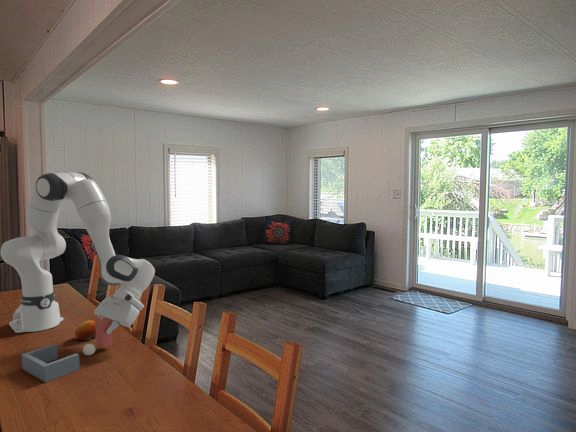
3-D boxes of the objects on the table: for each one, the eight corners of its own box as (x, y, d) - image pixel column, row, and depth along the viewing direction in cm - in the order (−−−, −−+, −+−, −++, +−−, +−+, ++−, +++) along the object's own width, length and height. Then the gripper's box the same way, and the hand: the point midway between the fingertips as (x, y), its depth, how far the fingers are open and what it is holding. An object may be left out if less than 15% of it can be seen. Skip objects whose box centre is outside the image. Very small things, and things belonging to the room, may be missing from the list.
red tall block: (96, 344, 148) (95, 320, 147) (106, 341, 152) (105, 317, 151) (102, 347, 146) (101, 322, 145) (113, 343, 149) (111, 319, 148)
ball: (80, 355, 144) (80, 344, 143) (91, 351, 147) (91, 340, 146) (87, 358, 141) (86, 347, 141) (98, 354, 144) (97, 343, 144)
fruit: (93, 339, 154) (82, 321, 155) (78, 348, 156) (68, 330, 156) (107, 331, 162) (96, 314, 163) (92, 340, 164) (82, 323, 164)
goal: (22, 369, 134) (21, 354, 133) (55, 357, 142) (54, 343, 142) (45, 382, 125) (44, 366, 124) (79, 369, 133) (78, 354, 133)
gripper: (104, 290, 159) (80, 322, 152) (135, 298, 147) (112, 333, 140) (115, 298, 163) (93, 330, 156) (147, 307, 151) (124, 341, 144)
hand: (102, 331), depth 148 cm, fingers closed on red tall block, 4 cm apart
